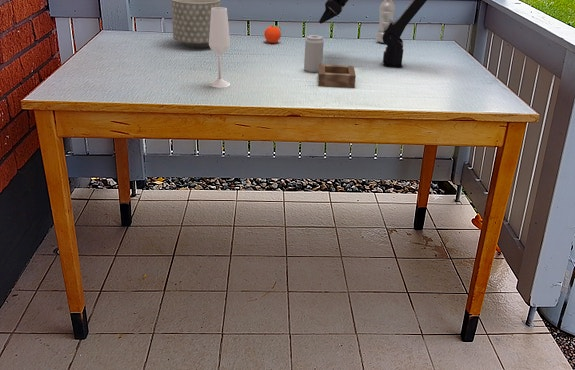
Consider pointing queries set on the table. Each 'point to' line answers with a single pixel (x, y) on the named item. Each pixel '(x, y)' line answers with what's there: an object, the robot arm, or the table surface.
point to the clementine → (272, 34)
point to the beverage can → (313, 53)
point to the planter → (192, 21)
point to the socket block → (336, 76)
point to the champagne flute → (219, 40)
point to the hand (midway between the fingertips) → (321, 20)
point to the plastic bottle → (385, 17)
